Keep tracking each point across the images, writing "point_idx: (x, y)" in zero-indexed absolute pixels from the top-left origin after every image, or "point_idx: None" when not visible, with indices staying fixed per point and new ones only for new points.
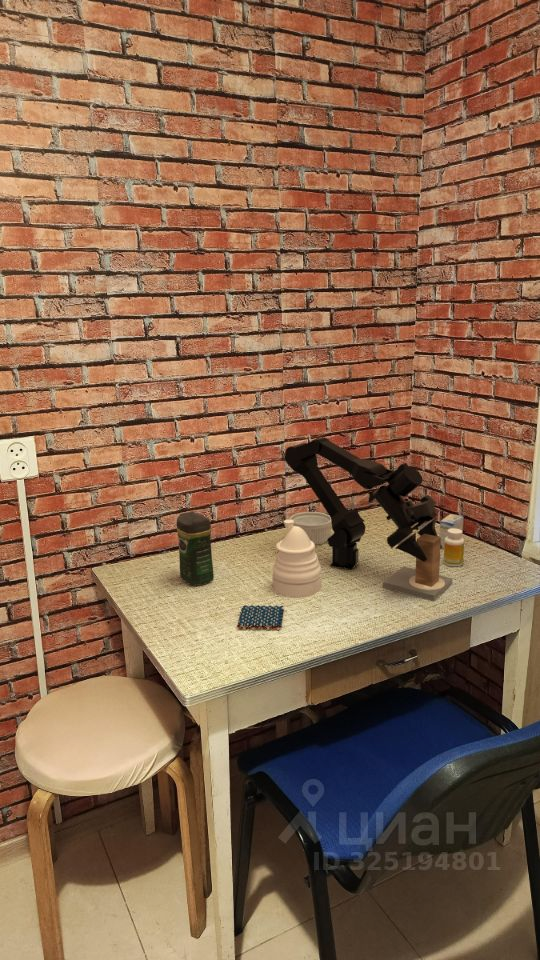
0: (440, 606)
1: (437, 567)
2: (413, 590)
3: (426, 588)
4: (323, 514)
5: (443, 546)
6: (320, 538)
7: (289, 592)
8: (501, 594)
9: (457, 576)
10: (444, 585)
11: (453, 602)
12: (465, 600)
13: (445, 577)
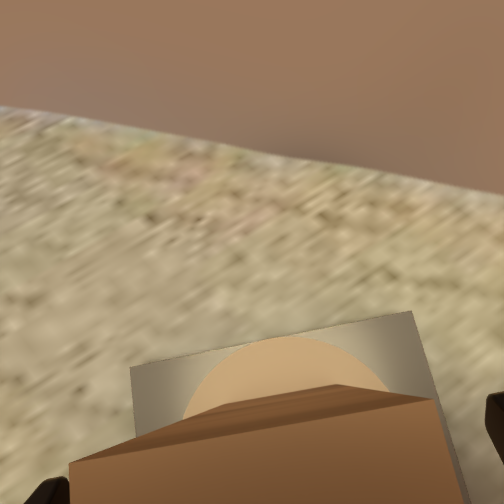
0: (422, 256)
1: (244, 404)
2: (454, 451)
3: None
4: None
5: None
6: None
7: None
8: (103, 139)
9: (36, 402)
10: (249, 344)
11: (333, 237)
12: (271, 210)
13: (145, 407)
